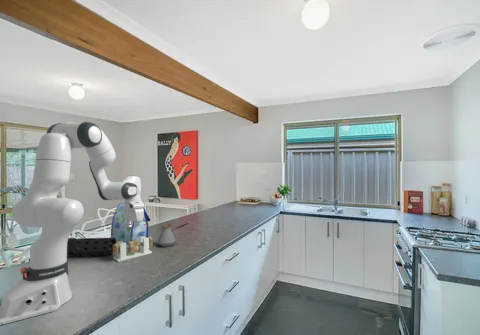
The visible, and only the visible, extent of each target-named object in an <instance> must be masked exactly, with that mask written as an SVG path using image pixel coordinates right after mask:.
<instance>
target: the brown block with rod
mask: <svg viewBox="0 0 480 335" xmlns="http://www.w3.org/2000/svg"><path fill="white" fill-rule="evenodd" d="M147 238H149V248H151V247H153V242H154V241H153V237H152V236H148V237H147ZM140 245H143V242H139V243H138V242H137V241H130V242H128V245H126V250H128V251H129V253H133V252H137V251H139V247H140ZM112 250H113V256H117V255H118V252H119V250H120V248H119V247H118V245H117V244H113V246H112Z"/></svg>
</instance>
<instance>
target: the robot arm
mask: <svg viewBox="0 0 480 335" xmlns="http://www.w3.org/2000/svg"><path fill="white" fill-rule="evenodd" d="M73 149H85V151H86V154H87V155H88V157H89V159H90V160H89V162H88V166H89V170H90V173H91V175H92V177H93V180H94V182H95V185H96V187H97V193H98V196H99V197H100V198H101V199H102V200H104V201H113V200H115V201H116V200H117V201H118V200H119V201H122V200H124V201H123V204H124V211H123V217H124V219H127V220H126V221H127V226H128V227H131V225H132V224H131V221H134V222H135V226H134V229H135V230H138V226H139V222H142V221H143V219H144V209H145V203H144V202H143V201H142V195H141V193H142V180H141V177H139V176H137V175H133V174H131V175H126V176H125V179H123V180H121V181H111V180H109V179H108V177H107V174H106V171H105V169H107V168H108V167H109V166H111V165H112V164H113V163H114V161H115V160H116V155H117V154H116V150H115V149H114V147H113V145H112V143H111V141H110V140H109V138H108V136H107V135H106V133H105V132H104V131H103V130H102V129H101V128H100V127H99V126H98V125H97V124H95V123H93V122H89V121H84V122H83V121H68V122H62V123H61V122H58V123H55V124H52V125H50V127H48V128H47V130H46V133H45V134H43V135H42V136H41V137H40V139H39V142H38V146H37V149H36V154H35V160H34V161H35V162H34V169H33V175H32V180H31V183H30V186H29V188H28V189H27V192H26V194H25V195H24V196H23V197H22V198H21V199H20V200H19V201H17V202H16V204H15V205H14V206H13V208H12V210H11V217H12V219H13V221H14V222H15V223H17V224H19V225H22V226H26V227H30V228H31V227H32V228H33V227H35V228H41V233H40V236H39V237H38V239H36V240H35V241H34V242H32V243H31V245H30V248H29V267H26V266H23V267H21V268H20V270H19V272H20V274H22V279H21V280H20V281H18V282H17V284H15V285H13V287H11V288H10V289H9V290H7V291H6V292H5V294H4V295H3V298H2V300H1V304H0V326H3V325H7V324H10V323H14V322H17V321H21V320H26V319H30V318H33V317H36V316H40V315H41V316H42V315H43V314H48V313H52V312H55V311H57V310H58V309H59V308H60V307H61V306H63V305H64V304H66V303H68V302H69V301H70V300H71V299H72V298H73V293H72V290H71V286H70V281H69V271H70V266H69V265H70V264H69V260H68V256H67V242H68V238H70V237H69V236H70V235H71V232H72V230H73V229H74V228H75V226H77V225H78V224H79V223H80V222H81V221H82V219H83V217H84V213H85V211H84V210H85V209H84V206H83V204H82V202H80V201H79V200H76V199H73V198H72V199H71V198H69V197H58V195H59V192H60V191H61V189H63V187H65V186H66V185H68V184H69V182H70V178H71V177H70V176H71V167H72V166H71V164H72V151H73ZM143 208H144V209H143ZM2 324H3V325H2Z"/></svg>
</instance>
